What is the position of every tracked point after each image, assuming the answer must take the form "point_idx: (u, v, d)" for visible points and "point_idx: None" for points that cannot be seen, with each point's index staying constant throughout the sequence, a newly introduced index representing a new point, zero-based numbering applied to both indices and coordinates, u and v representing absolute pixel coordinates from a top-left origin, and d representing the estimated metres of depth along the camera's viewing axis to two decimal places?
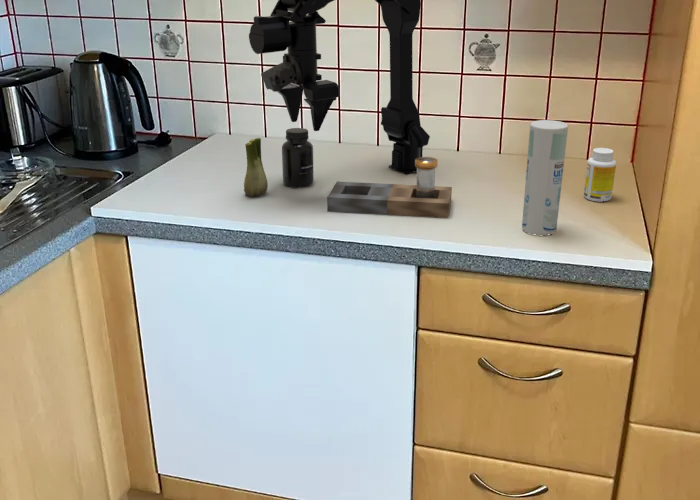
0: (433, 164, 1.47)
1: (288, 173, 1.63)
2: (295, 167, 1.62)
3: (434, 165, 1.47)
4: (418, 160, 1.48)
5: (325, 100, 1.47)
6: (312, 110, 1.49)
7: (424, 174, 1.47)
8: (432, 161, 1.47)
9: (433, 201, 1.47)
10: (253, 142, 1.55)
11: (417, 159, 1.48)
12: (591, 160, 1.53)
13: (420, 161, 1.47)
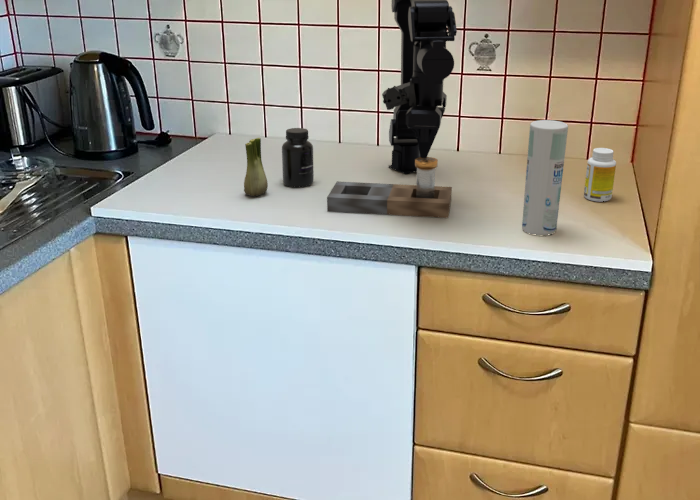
0: (433, 164, 1.47)
1: (288, 173, 1.63)
2: (295, 167, 1.62)
3: (434, 165, 1.47)
4: (418, 160, 1.48)
5: (424, 127, 1.37)
6: None
7: (424, 174, 1.47)
8: (432, 161, 1.47)
9: (433, 201, 1.47)
10: (253, 142, 1.55)
11: (417, 159, 1.48)
12: (591, 160, 1.53)
13: (420, 161, 1.47)
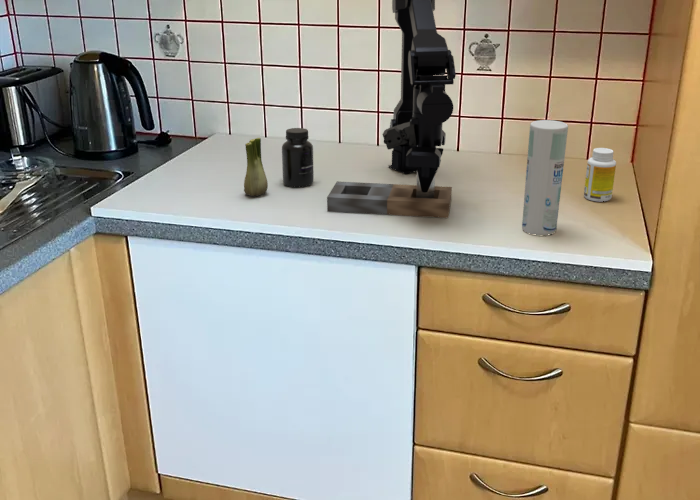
0: None
1: (288, 173, 1.63)
2: (295, 168, 1.62)
3: None
4: None
5: None
6: None
7: None
8: None
9: (433, 201, 1.47)
10: (253, 142, 1.55)
11: None
12: (591, 160, 1.53)
13: None
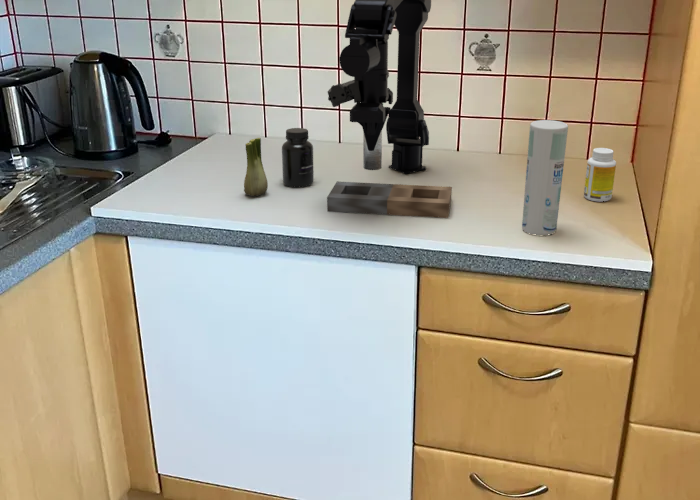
0: None
1: (288, 173, 1.63)
2: (295, 167, 1.62)
3: None
4: None
5: None
6: None
7: None
8: None
9: (433, 201, 1.47)
10: (253, 142, 1.55)
11: None
12: (591, 160, 1.53)
13: None
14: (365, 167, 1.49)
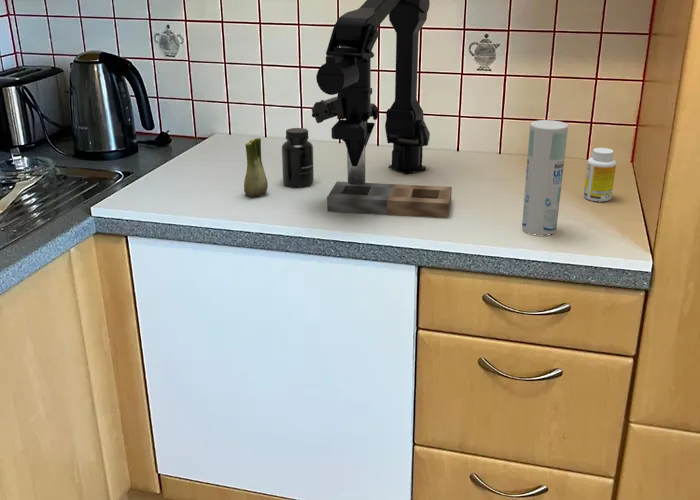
0: None
1: (288, 173, 1.63)
2: (295, 168, 1.62)
3: None
4: None
5: None
6: None
7: None
8: None
9: (433, 201, 1.47)
10: (253, 142, 1.55)
11: None
12: (591, 160, 1.53)
13: None
14: (349, 182, 1.52)
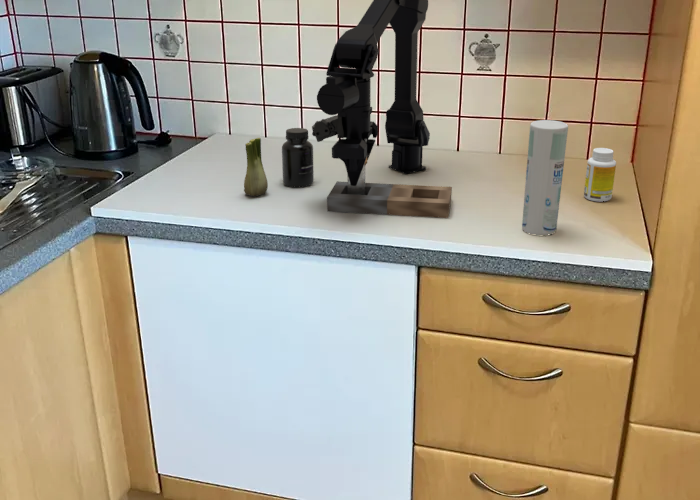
0: None
1: (288, 173, 1.63)
2: (295, 168, 1.62)
3: None
4: None
5: None
6: None
7: None
8: None
9: (433, 201, 1.47)
10: (253, 142, 1.55)
11: None
12: (591, 160, 1.53)
13: None
14: None
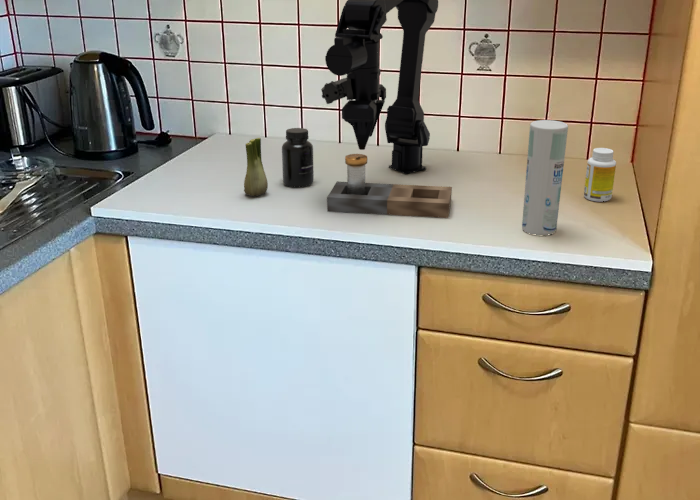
0: (362, 161, 1.49)
1: (288, 173, 1.63)
2: (295, 168, 1.62)
3: (363, 162, 1.49)
4: (348, 157, 1.50)
5: (359, 121, 1.44)
6: None
7: (354, 170, 1.50)
8: (361, 158, 1.50)
9: (433, 201, 1.47)
10: (253, 142, 1.55)
11: (347, 156, 1.51)
12: (591, 160, 1.53)
13: (350, 158, 1.50)
14: None
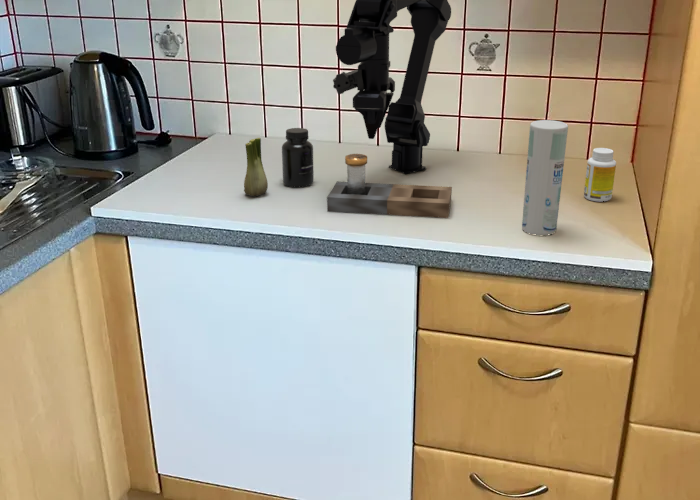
0: (362, 161, 1.49)
1: (288, 173, 1.63)
2: (295, 168, 1.62)
3: (363, 162, 1.49)
4: (348, 157, 1.50)
5: (369, 110, 1.49)
6: None
7: (354, 170, 1.50)
8: (361, 158, 1.50)
9: (433, 201, 1.47)
10: (253, 142, 1.55)
11: (347, 156, 1.51)
12: (591, 160, 1.53)
13: (350, 158, 1.50)
14: None
